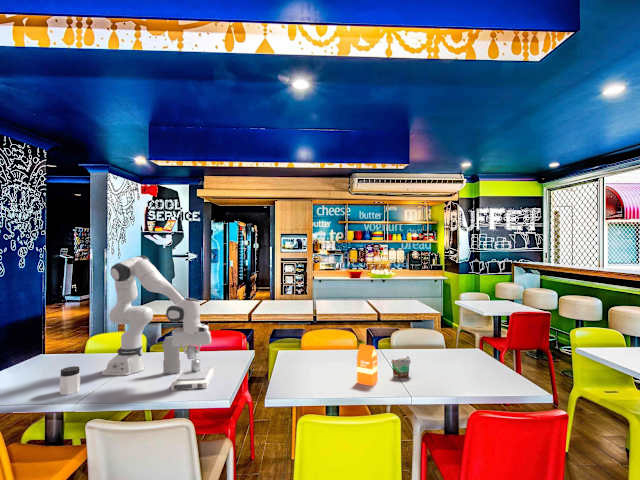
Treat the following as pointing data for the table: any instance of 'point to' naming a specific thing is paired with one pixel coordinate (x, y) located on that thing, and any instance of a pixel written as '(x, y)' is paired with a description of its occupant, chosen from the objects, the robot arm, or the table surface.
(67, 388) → the jar
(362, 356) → the orange juice
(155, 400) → the table surface
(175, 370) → the tall pale column
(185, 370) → the white rimmed tray
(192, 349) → the cylinder
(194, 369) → the cylinder
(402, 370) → the food container
